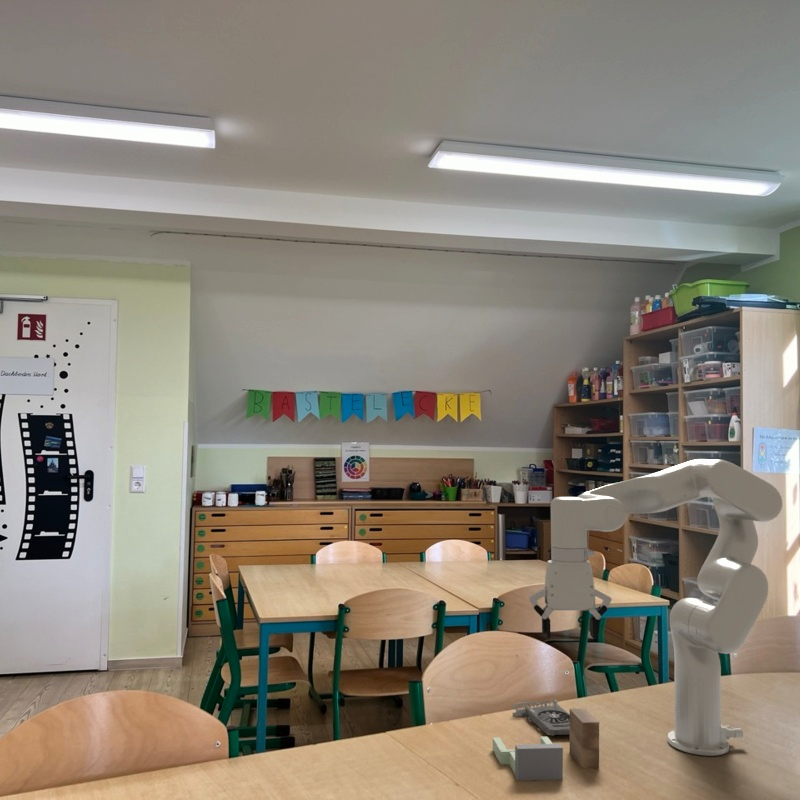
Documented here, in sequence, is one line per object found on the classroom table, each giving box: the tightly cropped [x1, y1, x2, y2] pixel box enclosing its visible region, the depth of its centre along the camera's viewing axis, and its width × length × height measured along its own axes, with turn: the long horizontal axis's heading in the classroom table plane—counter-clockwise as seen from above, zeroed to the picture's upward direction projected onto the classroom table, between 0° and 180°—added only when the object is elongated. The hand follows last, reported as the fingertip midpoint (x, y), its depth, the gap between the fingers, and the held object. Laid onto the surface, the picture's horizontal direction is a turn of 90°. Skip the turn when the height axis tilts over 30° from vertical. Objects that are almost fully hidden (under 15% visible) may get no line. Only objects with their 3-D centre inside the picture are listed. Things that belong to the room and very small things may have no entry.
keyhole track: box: [492, 736, 564, 782], centre depth 152 cm, size 12×15×6 cm
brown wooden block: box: [569, 708, 600, 769], centre depth 155 cm, size 4×8×9 cm, turn 6°
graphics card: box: [512, 699, 570, 737], centre depth 173 cm, size 17×4×12 cm
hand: (570, 637), depth 157 cm, fingers open, 9 cm apart
